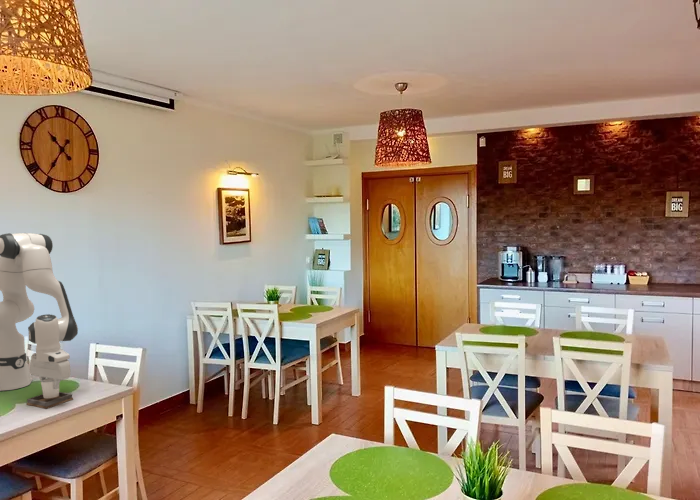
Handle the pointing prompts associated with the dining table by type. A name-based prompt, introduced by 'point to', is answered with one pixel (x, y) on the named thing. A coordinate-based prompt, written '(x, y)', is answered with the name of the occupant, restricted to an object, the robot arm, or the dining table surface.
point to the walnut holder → (49, 400)
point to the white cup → (49, 388)
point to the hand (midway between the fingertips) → (50, 387)
